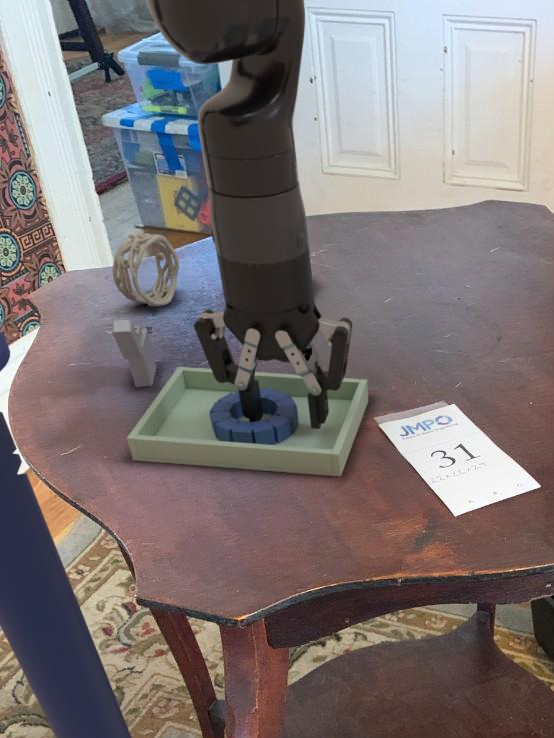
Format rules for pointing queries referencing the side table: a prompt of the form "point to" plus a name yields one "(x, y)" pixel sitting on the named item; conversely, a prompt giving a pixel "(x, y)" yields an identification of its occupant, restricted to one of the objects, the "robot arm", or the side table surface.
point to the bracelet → (132, 246)
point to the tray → (201, 447)
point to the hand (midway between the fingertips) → (286, 421)
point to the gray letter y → (136, 351)
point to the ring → (259, 431)
